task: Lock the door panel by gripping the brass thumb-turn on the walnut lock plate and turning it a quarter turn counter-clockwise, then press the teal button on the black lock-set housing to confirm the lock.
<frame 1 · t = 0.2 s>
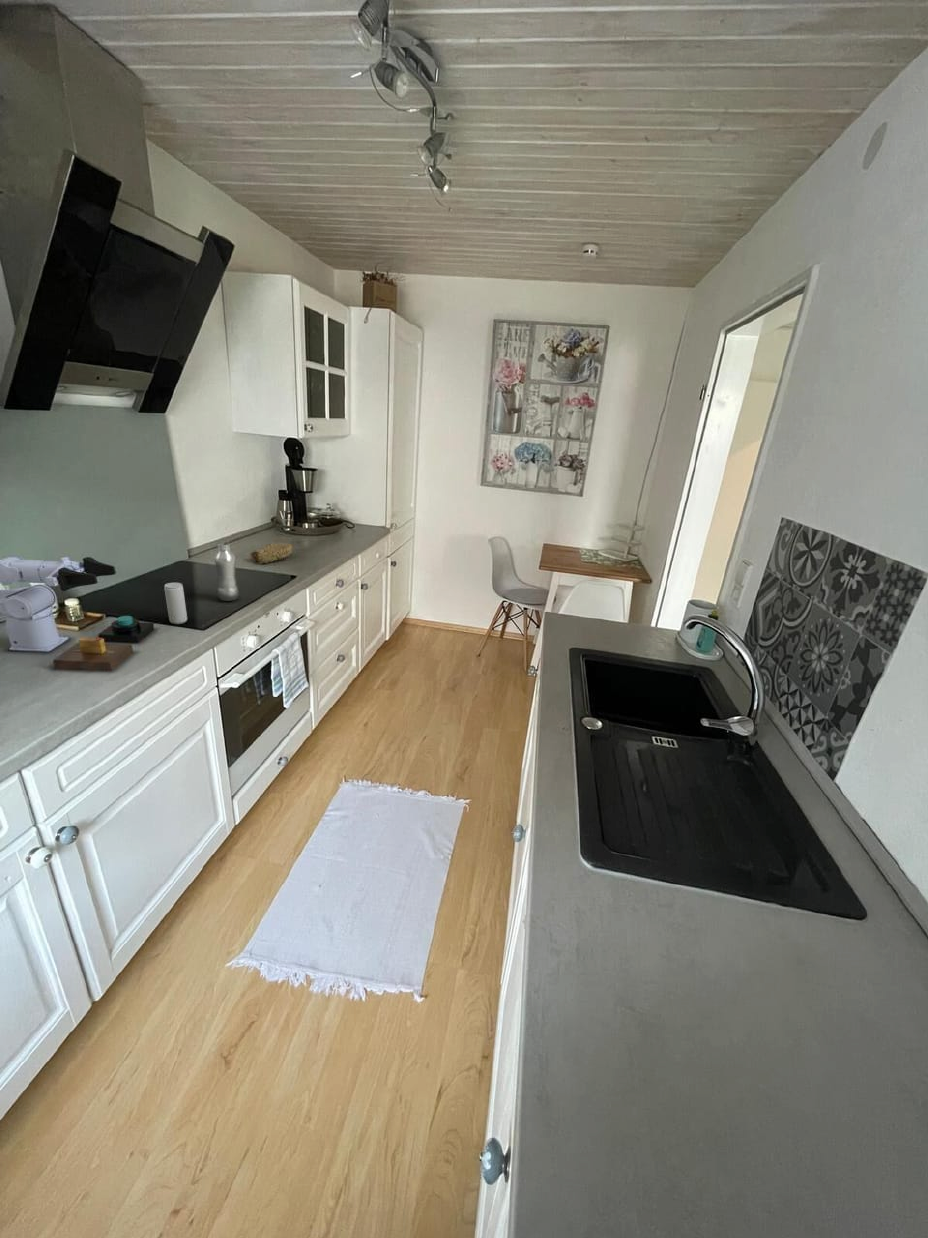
hand: (105, 574, 123), 21 cm above the worktop, tool horizontal, fingers open, 7 cm apart
lock button: (125, 621, 137), point 4 cm above the worktop, slide at 0.1 cm
tan oblong lump: (274, 559, 215), on the worktop
lock plate: (95, 660, 125), on the worktop
thumbturn: (92, 645, 123), point 4 cm above the worktop, hinge at 0.0°
beverage can: (178, 622, 150), on the worktop
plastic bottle: (229, 600, 169), on the worktop
lock button box: (127, 635, 138), on the worktop
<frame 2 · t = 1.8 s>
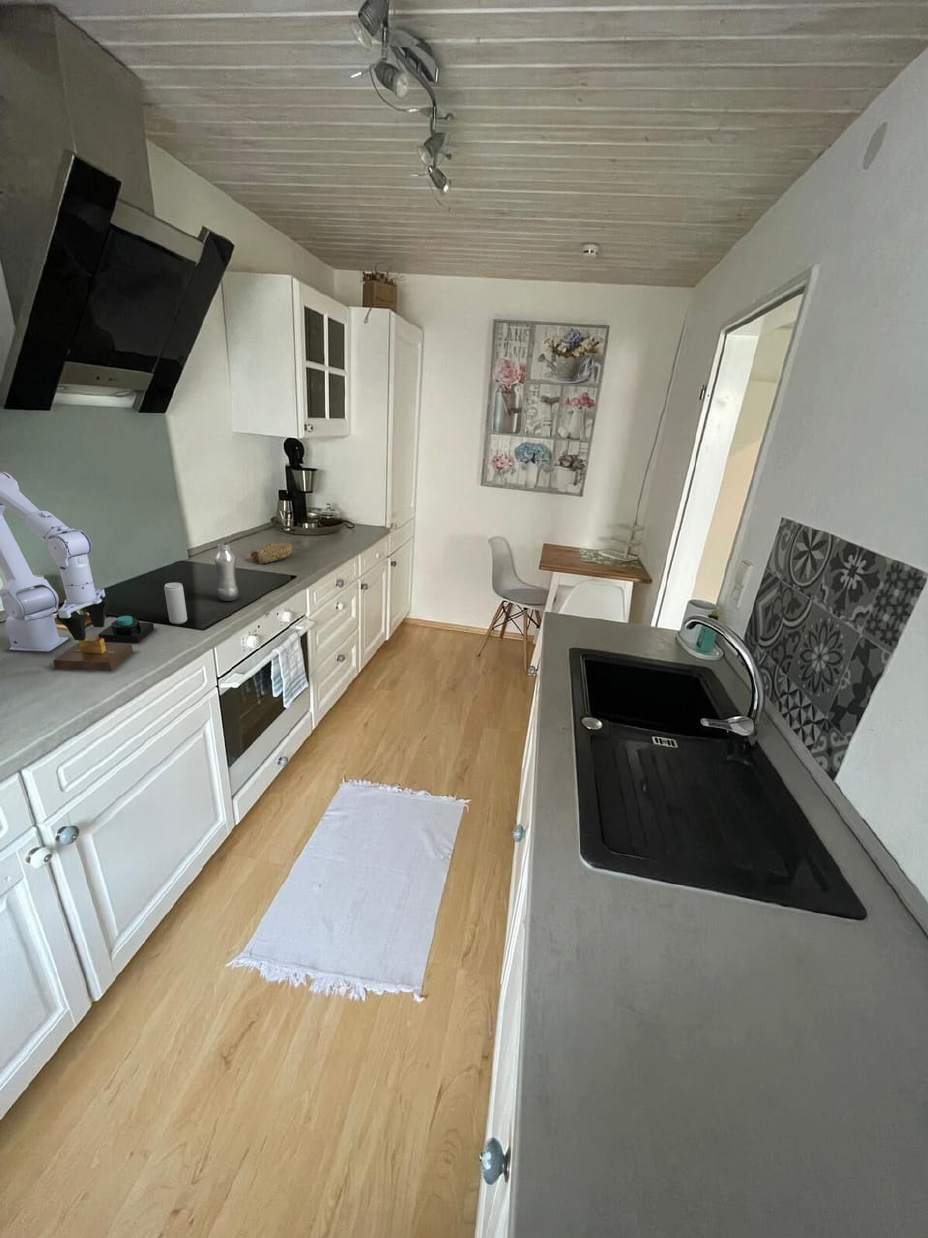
hand: (89, 633, 122), 8 cm above the worktop, tool pointing down, fingers open, 7 cm apart
nothing on the worktop moved.
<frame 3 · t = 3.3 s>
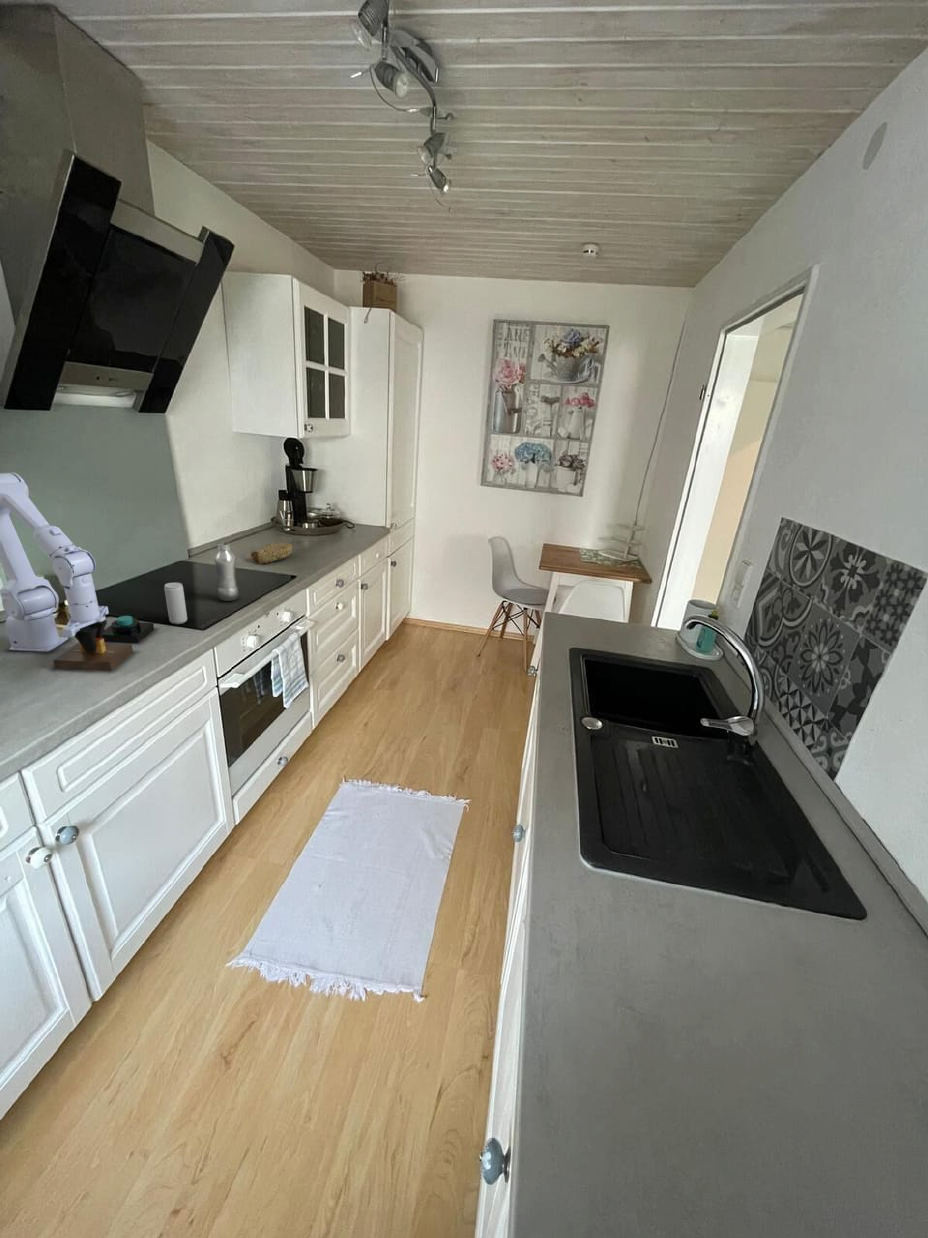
hand: (93, 650, 124), 3 cm above the worktop, tool pointing down, fingers closed on thumbturn, 2 cm apart
thumbturn: (92, 645, 123), point 4 cm above the worktop, hinge at 0.0°, touching gripper
everything else where it was.
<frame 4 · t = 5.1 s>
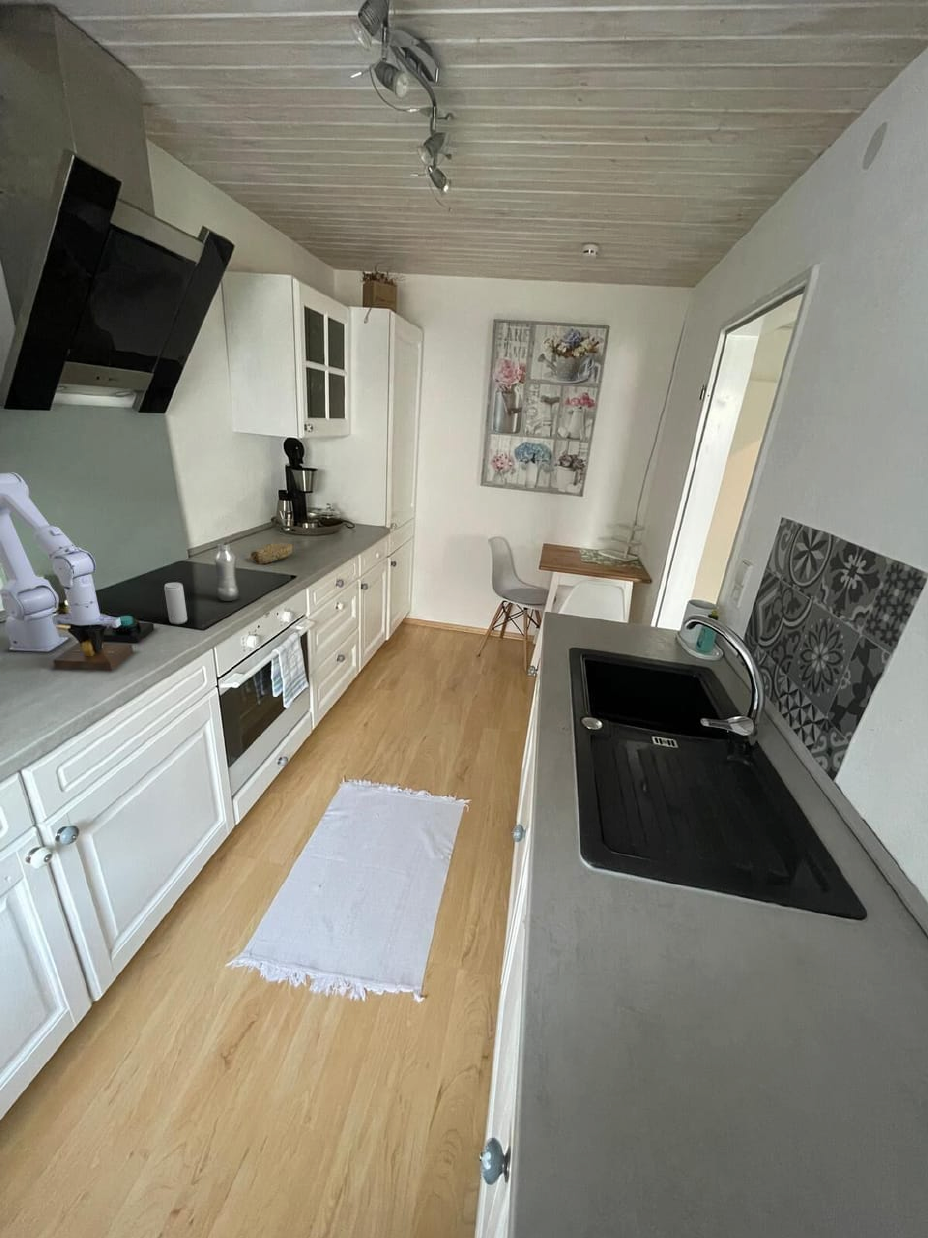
hand: (93, 650, 124), 3 cm above the worktop, tool pointing down, fingers closed on thumbturn, 2 cm apart
thumbturn: (92, 645, 123), point 4 cm above the worktop, hinge at 89.8°, touching gripper
everything else where it was.
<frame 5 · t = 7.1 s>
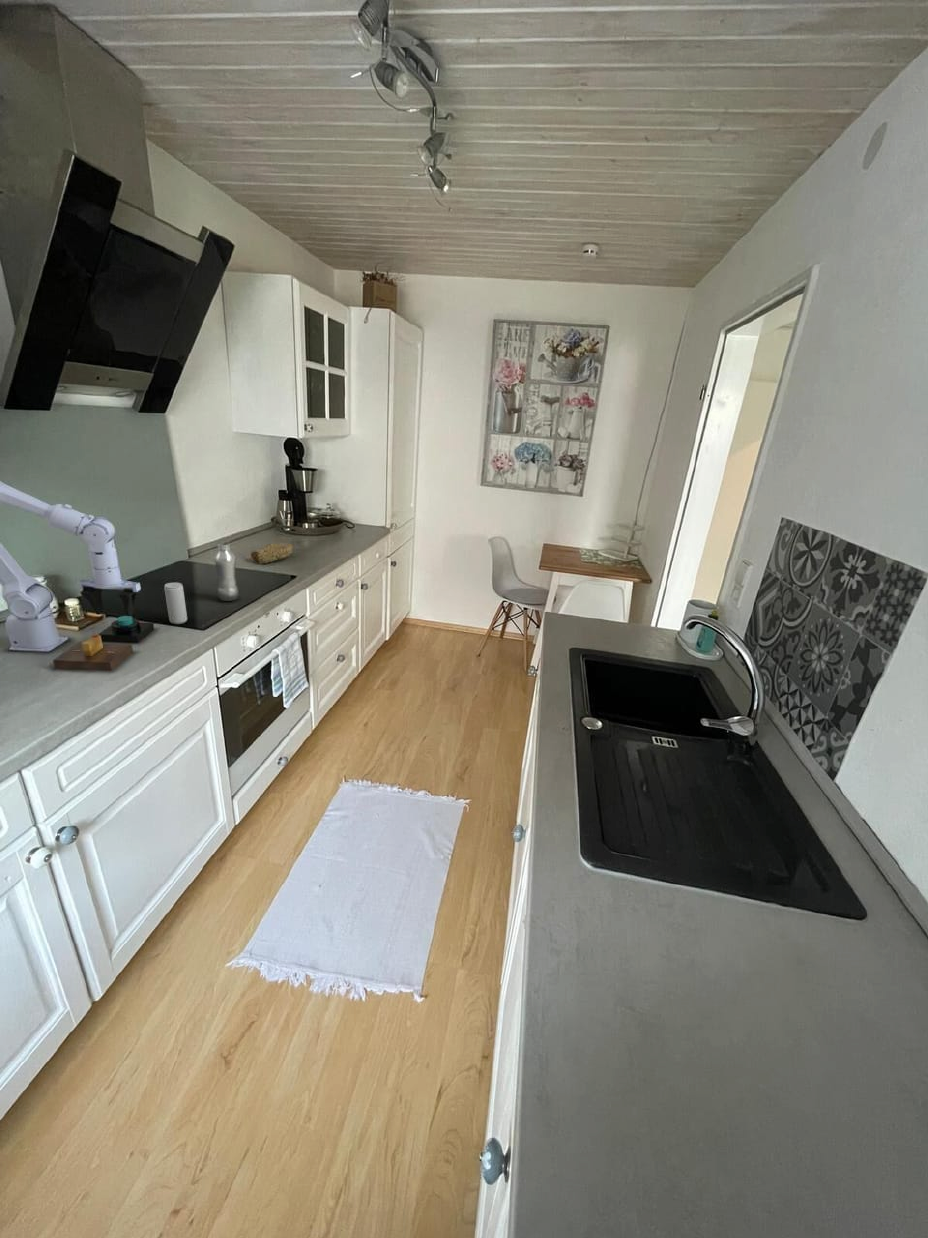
hand: (115, 614, 132), 8 cm above the worktop, tool pointing down, fingers open, 7 cm apart
thumbturn: (92, 645, 123), point 4 cm above the worktop, hinge at 89.8°
everything else where it was.
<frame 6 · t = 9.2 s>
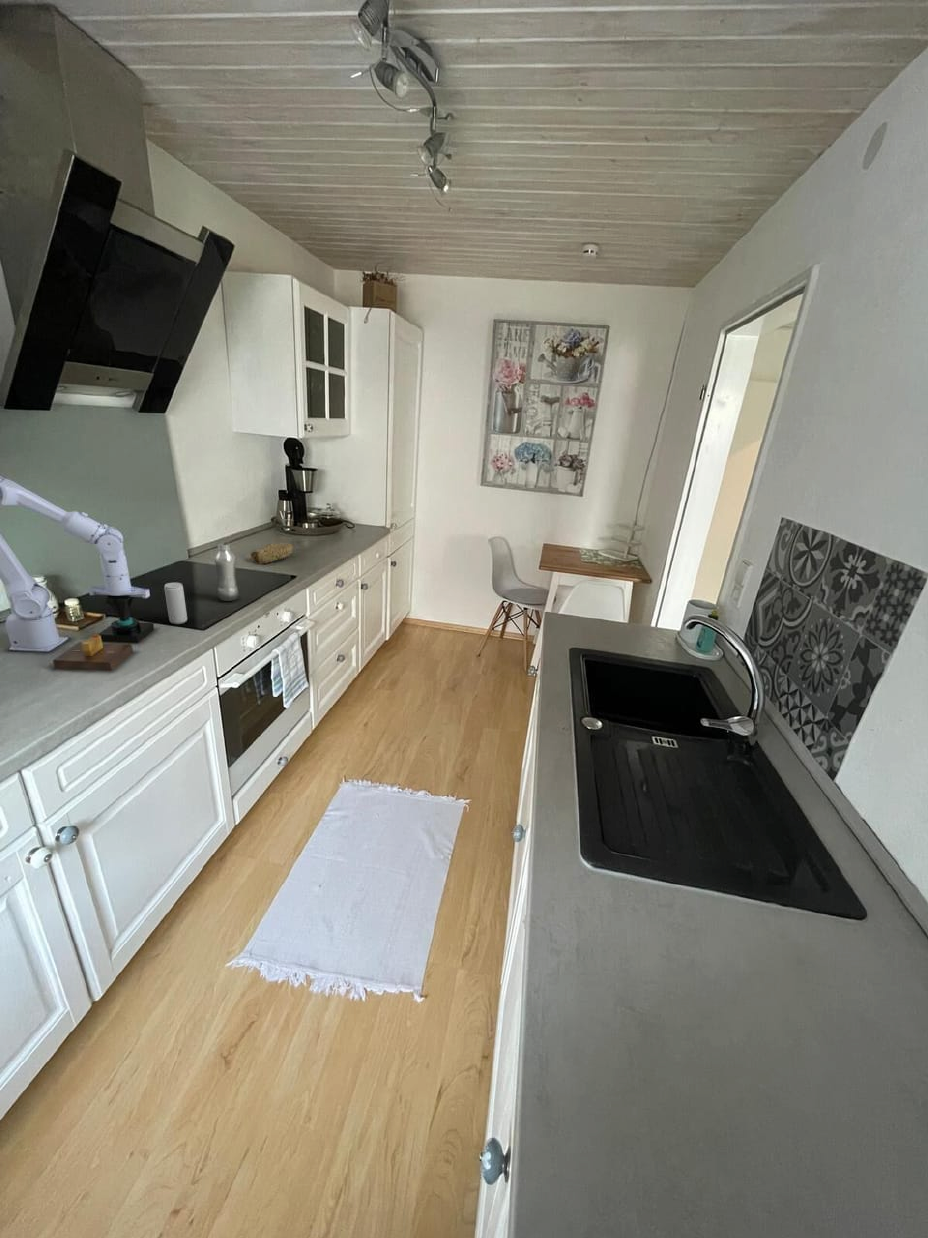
hand: (124, 619, 136), 5 cm above the worktop, tool pointing down, fingers closed, pressing on lock button
lock button: (125, 622, 137), point 4 cm above the worktop, slide at -0.3 cm, touching gripper
everything else where it was.
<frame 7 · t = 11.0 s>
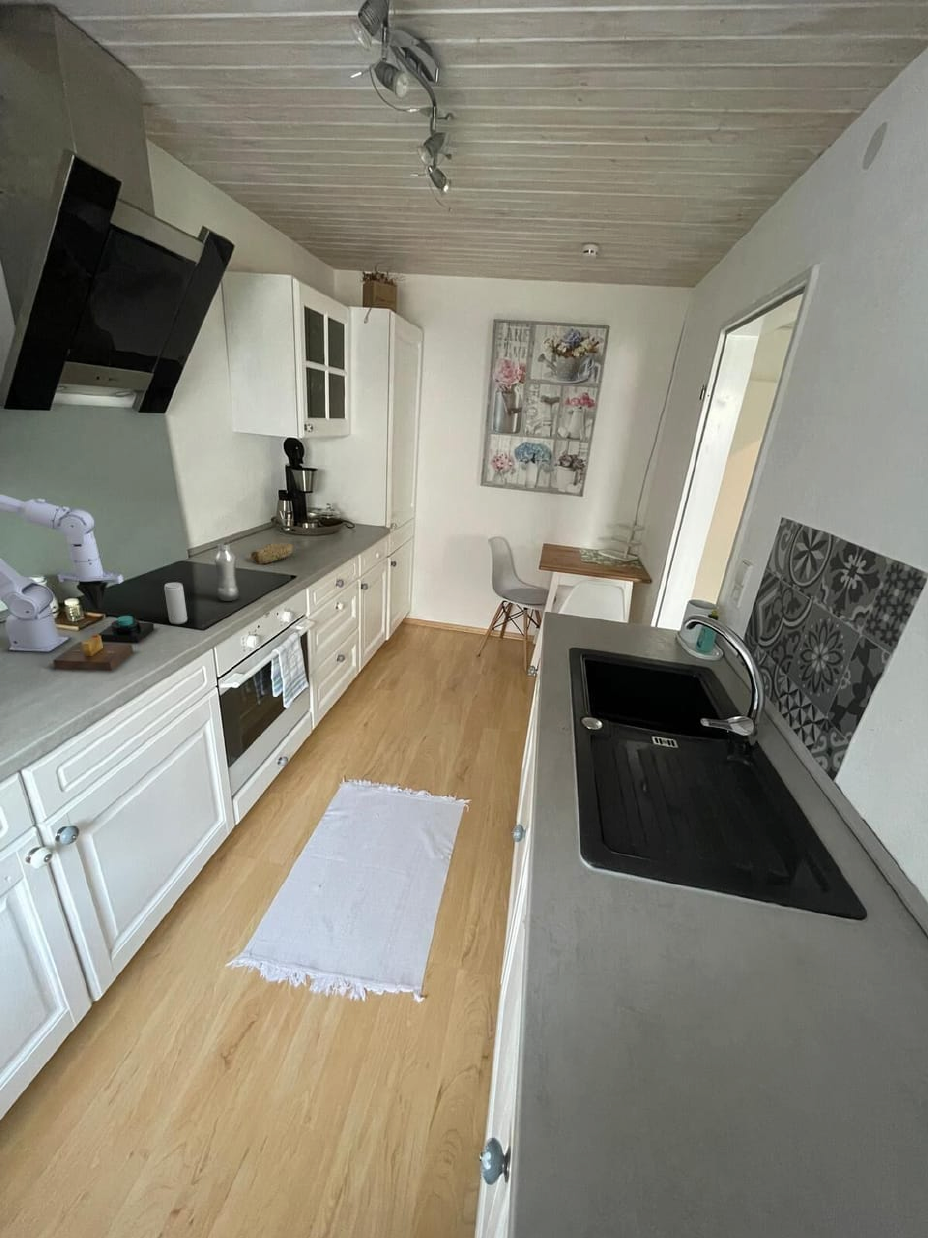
hand: (98, 607, 130), 10 cm above the worktop, tool pointing down, fingers closed
lock button: (125, 621, 137), point 4 cm above the worktop, slide at 0.1 cm
everything else where it was.
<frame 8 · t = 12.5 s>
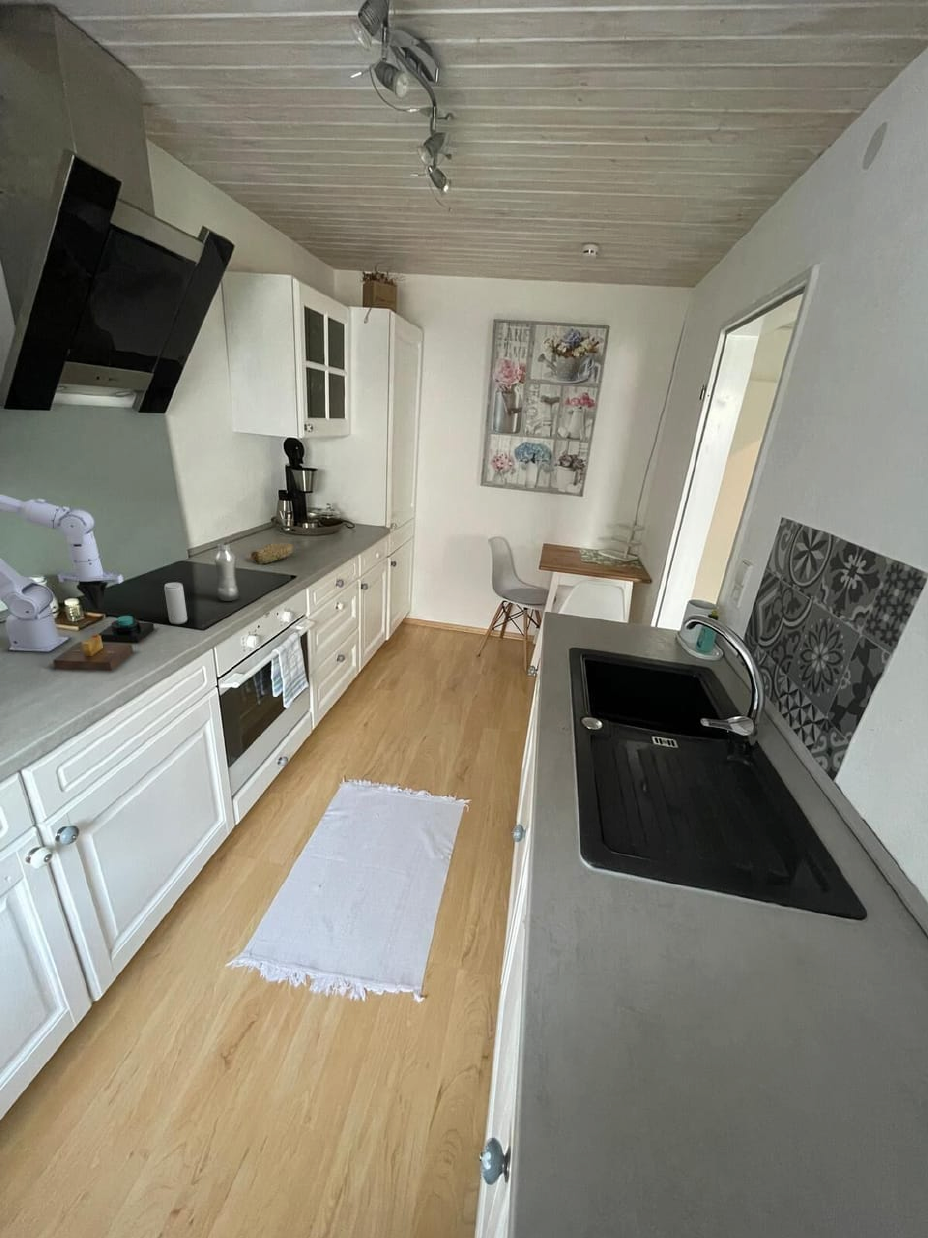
hand: (98, 607, 130), 10 cm above the worktop, tool pointing down, fingers closed
nothing on the worktop moved.
at the end: thumbturn at +90° (first picture: +0°); lock button pushed in 1.2 cm at the most during the clip, back to where it started at the end; lock button slide at 0.1 cm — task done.
